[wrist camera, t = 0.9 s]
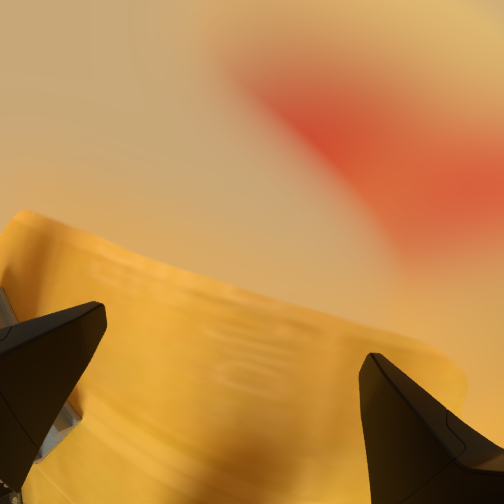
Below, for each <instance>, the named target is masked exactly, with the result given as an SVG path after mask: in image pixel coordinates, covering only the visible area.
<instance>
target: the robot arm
mask: <svg viewBox="0 0 504 504" xmlns="http://www.w3.org/2000/svg"><path fill="white" fill-rule="evenodd" d="M106 328H107V318H106V311H105V306H104V304H102V303H99V302H96V301H92V302H88V303H85V304H82V305H78V306H75V307H72V308H68V309H65V310H61V311H58V312H55V313H51V314H48V315H45V316H41V317H38V318H35V319H31V320H28V321H24V322H21V323H18V324H14V325H13V326H12V325H11V326H7V327H4V328H0V480H1V481H2V482H3V483H4V484H6V485H7V486H8V487H9V488H10V489H12V490H13V491H14V492H15V493H17V494H19V492H20V490H21V488H22V486H23V484H24V481H25V479H26V477H27V475H28V473H29V471H30V468H31V466H32V464H33V462H34V460H35V458H36V456H37V454H38V452H39V450H40V448H41V446H42V444H43V442H44V440H45V438H46V436H47V435H48V433H49V431H50V429H51V427H52V425H53V423H54V422H55V420H56V418H57V416H58V414H59V413H60V411H61V409H62V407H63V406H64V404H65V402H66V401H67V399H68V397H69V395H70V394H71V392H72V390H73V389H74V387H75V385H76V384H77V382H78V380H79V379H80V377H81V376H82V374H83V372H84V371H85V369H86V368H87V366H88V364H89V363H90V361H91V359H92V357H93V355H94V353H95V351H96V349H97V347H98V345H99V343H100V341H101V339H102V337H103V335H104V333H105V331H106ZM359 391H360V411H361V420H362V427H363V433H364V440H365V447H366V455H367V463H368V472H369V482H370V492H371V504H504V449H503V448H501V447H499V446H497V445H496V444H494V443H493V442H491V441H490V440H488V439H487V438H485V437H484V436H482V435H481V434H480V433H478V432H477V431H475V430H474V429H472V428H471V427H470V426H468V425H467V424H465V423H464V422H463V421H462V420H460V419H459V418H458V417H457V416H455V415H454V414H453V413H452V412H451V411H449V410H448V409H447V410H446V407H444V406H443V405H442V404H441V403H440V402H438V401H437V400H436V399H435V398H434V397H432V396H431V395H430V394H429V393H428V392H426V391H425V390H424V389H423V388H422V387H420V386H419V385H418V384H417V383H416V382H414V381H413V380H412V379H411V378H409V377H408V376H407V375H406V374H405V373H403V372H402V371H401V370H400V369H399V368H397V367H396V366H395V365H394V364H393V363H391V362H390V361H389V360H388V359H386V358H385V357H384V356H383V355H382V354H380V353H369V354H368V355H367V356H366V359H365V361H364V363H363V365H362V367H361V369H360V372H359Z"/></svg>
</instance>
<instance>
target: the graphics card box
mask: <svg viewBox="0 0 504 504" xmlns="http://www.w3.org/2000/svg"><path fill="white" fill-rule="evenodd" d="M0 504H22V500H21V490H20V492H19V494H17V493H15V492H14V491H13V490H12V489H10V488H9V487H8V486H7V485H6V484H4V483H3V482H2V481H1V480H0Z"/></svg>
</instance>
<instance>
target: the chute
mask: <svg viewBox="0 0 504 504" xmlns="http://www.w3.org/2000/svg"><path fill="white" fill-rule="evenodd" d="M18 323H19V322H18V320H17V318H16V316H15V314H14V312H13V310H12V308H11V305H10V303H9V301H8V299H7V296H6V294H5V292H4V289H3V288H2V287H0V328H4V327H7V326H11V325H12V326H13V325H14V324H18ZM81 420H82V419H81V418H80V417H79V415H78V414H77V413H76V412H75V410H74V409H73V408H72V406H71V405H70V404H69V402H68V401H66V402H65V404H64V406H63V407H62V409H61V411H60V413H59V414H58V416H57V418H56V420H55V422H54V423H53V425H52V427H51V429H50V431H49V433H48V435H47V436H46V438H45V440H44V442H43V444H42V446H41V448H40V450H39V452H38V454H37V456H36V458H35V460H34V462H33V464H38V463H40V462H41V461H42V460H43V459H44V458H45V457H46V456H47V455H48V454H49V453H50V452H51V451H52V450H53V449H54V448H55V447H56V446H57V445H58V444H59V443H60V442H61V441H62V440H63V439H64V438H65V437H66V436H67V435H68V434H69V433H70V431H71V430H72V429H73V428H74V427H75V426H76V425H77V424H78V423H79V422H80V421H81Z"/></svg>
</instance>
